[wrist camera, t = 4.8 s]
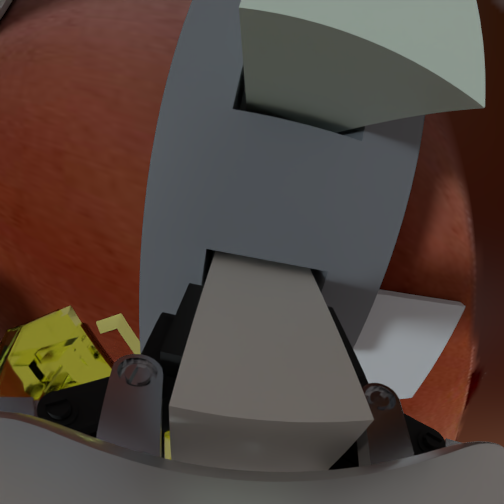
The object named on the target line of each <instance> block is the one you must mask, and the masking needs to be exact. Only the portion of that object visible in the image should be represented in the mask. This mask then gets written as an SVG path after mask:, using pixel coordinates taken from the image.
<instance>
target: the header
mask: <svg viewBox="0 0 504 504" xmlns="http://www.w3.org/2000/svg"><path fill="white" fill-rule="evenodd" d="M240 2H241V0H192V3H191V5H190V8H189V11H188V13H187V16H186V19H185V22H184V25H183V28H182V31H181V34H180V37H179V40H178V43H177V46H176V50H175V53H174V57H173V60H172V64H171V67H170V71H169V75H168V78H167V82H166V86H165V90H164V95H163V99H162V103H161V108H160V112H159V117H158V122H157V127H156V132H155V138H154V143H153V149H152V155H151V161H150V168H149V175H148V182H147V190H146V199H145V208H144V218H143V229H142V243H141V260H140V289H139V325H140V353H142V351H143V349H144V346H145V344H146V342H147V340H148V338H149V336H150V334H151V332H152V330H153V328H154V326H155V324H156V322H157V320H158V318H159V316H160V314H161V313H162V312H165V313H170V314H174V315H176V312H177V310H178V308H179V305H180V303H181V301H182V299H183V296H184V294H185V292H186V289H187V287H188V285H189V283H192V284H197V285H202V286H204V285H205V282H206V278H207V275H208V272H209V269H210V266H211V263H212V260H213V257H214V254H215V251H221V252H226V253H231V254H237V255H242V256H247V257H253V258H258V259H263V260H269V261H274V262H279V263H285V264H290V265H296V266H301V267H306V268H310V270H311V272H312V274H313V276H314V279H315V281H316V283H317V285H318V287H319V289H320V292H321V294H322V296H323V298H324V300H325V303H326V305H327V306H329V307H332V308H333V309H334V311H335V313H336V315H337V317H338V319H339V321H340V323H341V325H342V327H343V329H344V331H345V333H346V335H347V338H348V340H349V342H350V344H351V346H352V348H354V346H355V344H356V342H357V340H358V337H359V335H360V333H361V331H362V329H363V327H364V324H365V322H366V320H367V318H368V315H369V313H370V311H371V308H372V306H373V303H374V301H375V298H376V296H377V293H378V291H379V288H380V286H381V283H382V281H383V278H384V275H385V272H386V270H387V267H388V264H389V261H390V258H391V255H392V252H393V249H394V246H395V243H396V240H397V237H398V234H399V231H400V227H401V224H402V221H403V217H404V213H405V210H406V206H407V202H408V199H409V195H410V191H411V187H412V182H413V178H414V174H415V169H416V164H417V159H418V154H419V149H420V143H421V138H422V131H423V125H424V118H425V115H419V116H413V117H407V118H402V119H396V120H391V121H386V122H381V123H376V124H371V125H367V126H362V127H358V128H354V129H349V130H345V131H341V132H337V133H334V132H331V131H327V130H324V129H320V128H317V127H313V126H309V125H306V124H302V123H298V122H294V121H290V120H285V119H281V118H277V117H272V116H267V115H262V114H257V113H252V112H247V106H246V93H245V80H244V67H243V54H242V41H241V28H240V16H239V5H240Z"/></svg>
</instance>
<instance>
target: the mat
mask: <svg viewBox="0 0 504 504" xmlns="http://www.w3.org/2000/svg"><path fill="white" fill-rule="evenodd" d="M465 307H466V306H464V305H463V304H462V303H461V302H458V301H451V300H444V299H438V298H431V297H425V296H419V295H412V294H406V293H400V292H394V291H387V290H381V289H379V291H378V293H377V296H376V298H375V301H374V303H373V306H372V308H371V311H370V313H369V315H368V318H367V320H366V322H365V324H364V327H363V329H362V331H361V333H360V335H359V337H358V340H357V342H356V344H355V346H354V348H353V350H354V352H355V354H356V356H357V359H358V361H359V363H360V365H361V367H362V369H363V371H364V374H365V376H366V379H367V381H368V383H380V384H384V385H386V386H388V387H389V388H391V389H392V390H393V391H394V392H395V393H396V394H397V396H398V398H399V399H404V398H412V396H413V395H414V394H415V392H416V391H417V389H418V388H419V387H420V385H421V384H422V382H423V381H424V379H425V378H426V376H427V375H428V373H429V372H430V370H431V369H432V367H433V365H434V364H435V362H436V361H437V359H438V357H439V356H440V354H441V352H442V351H443V349H444V347H445V345H446V344H447V342H448V340H449V338H450V336H451V335H452V333H453V331H454V329H455V327H456V325H457V323H458V321H459V319H460V317H461V315H462V313H463V311H464V309H465Z"/></svg>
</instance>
